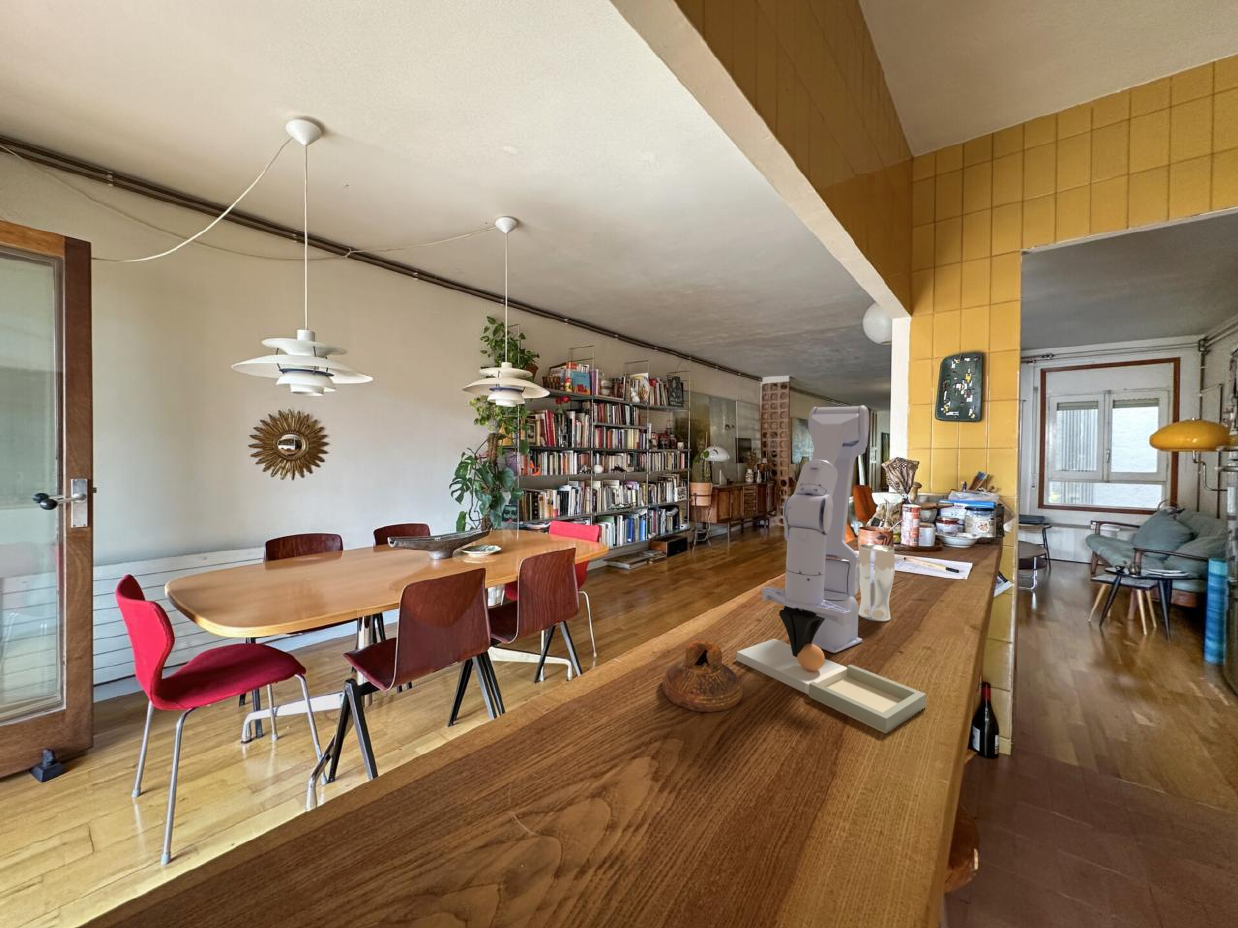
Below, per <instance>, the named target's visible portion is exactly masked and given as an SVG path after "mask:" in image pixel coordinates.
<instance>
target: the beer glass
mask: <svg viewBox="0 0 1238 928" xmlns="http://www.w3.org/2000/svg"><path fill="white" fill-rule="evenodd" d="M858 550H859V551H858V557H859V559H860V564H859V568H860V582H859V589H860V605H859V607H858V609H859V611H858V616H860V617H861V618H863V619H864V620H869V621H874V622H887V621H890V620H891V611H890V596H891V591H892V588H893V584H894V580H895V579H894V578H895V572H896V559H895V558H896V557H895V547H892V546H890V545H886V544H877V543H861V544H860V545H859V549H858Z"/></svg>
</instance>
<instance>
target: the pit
mask: <svg viewBox="0 0 1238 928" xmlns="http://www.w3.org/2000/svg"><path fill="white" fill-rule="evenodd" d="M846 667H847V677H845V678H843V679H841V680H838V681H836V682H834V683H832V684H830V685H828V686H826V687H824V686H822V685H820V684H818V683H816V682H811V683H809V695H808V697H809V698H811V699H812V700H814V701H816V702H818V703H821V704H823V705H825V706H827V707H829V708H831V709H832V710H836V712H837V711H838V712H839V713H842V714H843V715H846V716H848V717H850V718H852V719H854V720H856V721H857V722H858V721H859V722H860V723H862V724H865V725H866V726H868V727H870V728H873V729H875V730H877V731H879V732H881V733H883V734H885V735H887V734H889V732H892V731H893V730H894V729H896V728H897V727H899V726H900V725H902V724H903V723H905V722H906V721H908V720H910V719H911V718H912V716H913V717H914V716H916V715H917V714H919V713H920V712H922V711H923V710H925V709H926V708H927V704H926V703H927V693H926V692H923V691H921V690H918V689H914V688H912V687H909V686H907V685H906V684H905V685H904V684H902V683H899V682H897V681H894V680H892V679H889V678H888V677H884V676H881V675H879V674H877V673H874V672H871V671H869V670H866V669H865V668H864V669H863V668H861V667H860V666H859V667H858V666H856V665H853V664H852V663H851V664H848V665H846ZM924 708H925V709H924ZM922 709H923V710H922ZM921 710H922V711H921ZM919 711H920V712H919ZM918 712H919V713H918ZM915 714H916V715H915ZM909 718H910V719H909Z"/></svg>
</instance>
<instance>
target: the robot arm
mask: <svg viewBox="0 0 1238 928" xmlns="http://www.w3.org/2000/svg"><path fill="white" fill-rule="evenodd" d="M807 421H808V422H807V423H808V425H807V426H808V427H807V428H808V433H809V435H810V439H811V442H812V446H813V450H812V451H813V452H812V456H811V457H812V458H811V460H809V461H807V462H805V463H804V464H803V466H802V468H801V471H800V474H799V477H798V480H797V483H796V486H795V489H794V492H793V494H792V495H791V496H787V497H786V498H785V501H784V504H783V508H782V509H783V511H782V521H783V527H784V534H783V535H784V536H783V537H784V541H786V556H785V557H786V558H785V559H786V560H785V562H786V563H785V583H784V585H785V586H784V589H782V588H777V587H773V586H767V587H762V591H761V594H762V595H761V599H762V600H763V601H768V602H769V601H771V602H774V603H776V604H780V605H783V606H784V607H783V609H780V610H779V613H778V614H779V618H780V619H781V621H782V623H783V625H784V627H785V629H786V632H787V635H788V639H789V643H790V644H789V645H791V649H792V654H793V656H795V657H797V656H798V654H799V653H800V651H801V650H802V648H803V646H804V645H806V644H808V643H810V644H814V645H816V646H818V647H819V648H820V649H821V650H822V649H823V650H825V651H828V652H830V653H832V654H834V653H835V654H836V653H838V652H840V651H841V652H842V651H843V650H845V649H848V648H850V647H852V646H855V645H857V644H860V643H862V642H863V638H861V637H859V636H858V633H859V614H858V612H859V604H858V601H857V600H856V598H855V596H856V595H857V594H858V592H859V589H860V584H859V582H860V568H859V564H860V559H859V557H858V556H859V553H857V552H856V551H855V550H854V549H853V548H852V547H850V546H849V545H848V543H846V534H847V525H848V514H849V504H850V493H851V484H852V475H853V467H854V464H855V461H856V458H857V457H859V456H861V455H863V454H865V453H866V449H867V447H868V439H869V431H870V430H869V429H870V412H869V409H868V407H866V405H864V404H862V405H859V406H858V405H857V406H852V405H851V406H825V407H823V406H821V407H818V406H814V407H812V409H811V410H810V411H809V415H808V420H807Z"/></svg>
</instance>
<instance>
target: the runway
mask: <svg viewBox="0 0 1238 928" xmlns="http://www.w3.org/2000/svg"><path fill="white" fill-rule="evenodd" d="M736 661H737V662H739V663H741V664H743V665H746V666H748V667H749V668H752V669H754V670H756V671H758V672H760V673H762V674H764V675H766V676H769V677H771V678H772V679H775V680H777V681H779V682H781V683H783V684H785V685H787V686H790V687H791V688H794V689H796V690H797V691H800V692H801V693H804V694H806V695H808V696H809V683H811V682H816V683H818V684H820V685H822V686H824V687H826V686H828V685H830V684H832V683H834V682H836V681H838V680H841V679H843V678H845V677H847V666H844V665H842V664H839V663H837V662H834V661H832V660H829V659H826V658H825V661H824V664H823V666H822V667H821V668H820V669H819V670H816V671H809V670H806V669H805V668H803V667H802V666H801V665H800V663H799V661H798V658H797V657H795V656H793V654H792V649H791V644H789V643H787V642H784V641H781V640H779V639H777V638H772V639H769V640H766V641H764V642H761V643H757V644H755V645H752V646H750V647H746V648H743V649H740V650H738V651H736Z"/></svg>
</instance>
